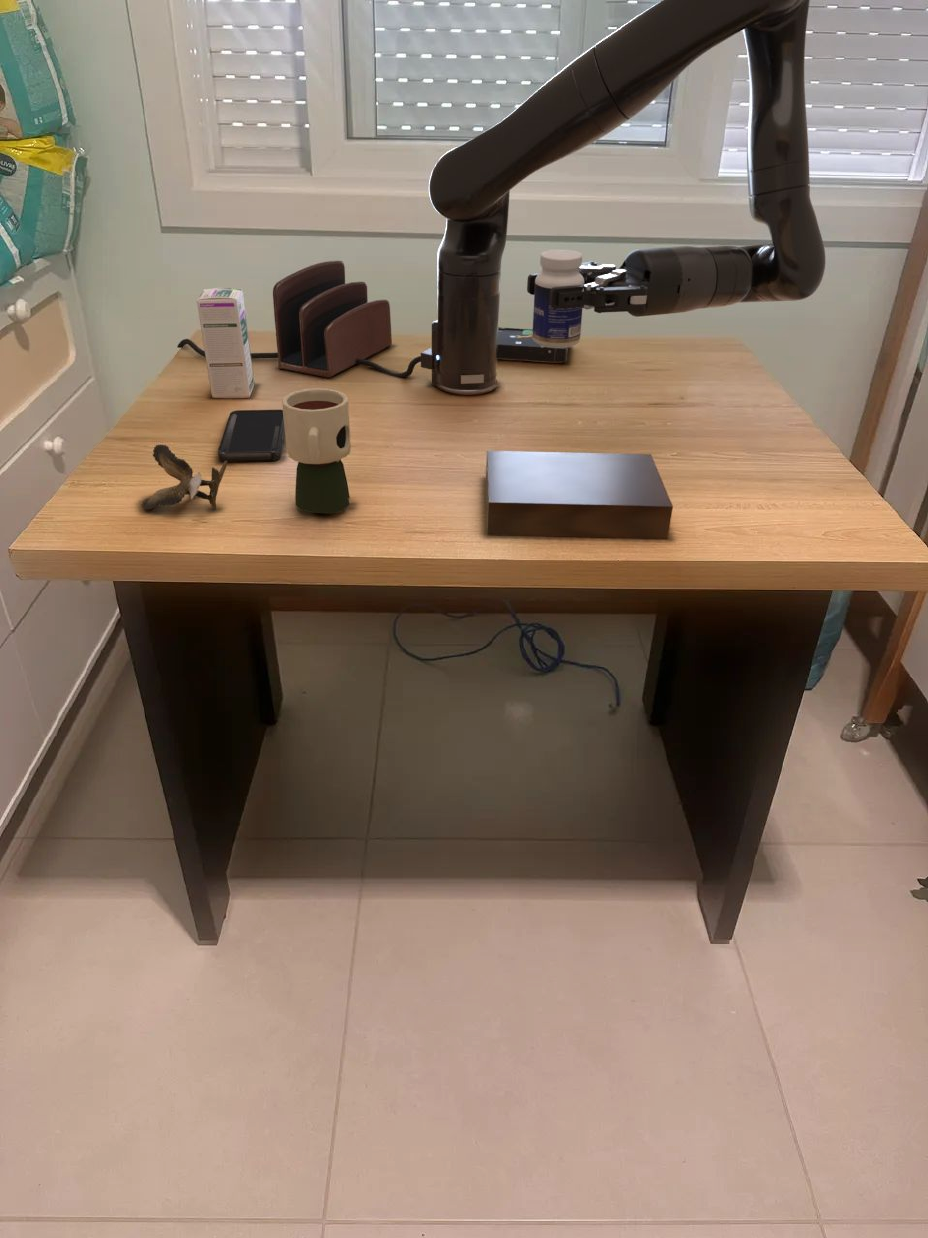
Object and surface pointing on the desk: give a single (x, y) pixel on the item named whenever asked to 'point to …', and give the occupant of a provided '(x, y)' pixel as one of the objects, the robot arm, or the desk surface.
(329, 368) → the letter holder
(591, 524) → the walnut stand
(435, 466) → the desk surface
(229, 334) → the syrup box
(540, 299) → the pill bottle
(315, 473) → the character mug
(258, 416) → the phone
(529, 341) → the disk drive
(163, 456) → the eagle figurine
